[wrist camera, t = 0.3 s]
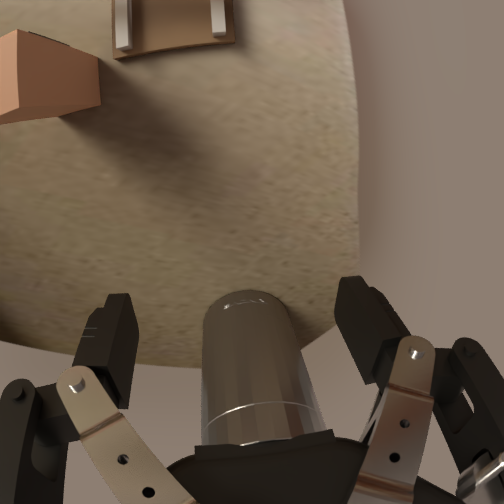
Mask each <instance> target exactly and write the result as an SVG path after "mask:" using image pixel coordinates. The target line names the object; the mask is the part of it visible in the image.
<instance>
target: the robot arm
mask: <svg viewBox="0 0 504 504" xmlns="http://www.w3.org/2000/svg"><path fill="white" fill-rule="evenodd" d="M334 315H335V321H336V324H337V326H338V328H339V330H340V332H341V334H342V336H343V338H344V340H345V342H346V344H347V346H348V349H349V351H350V353H351V355H352V357H353V359H354V361H355V363H356V366H357V368H358V370H359V372H360V374H361V376H362V378H363V380H364V382H365V385H367V384H371V383H376V384H377V386H378V388H379V391H378V393H377V395H376V399H375V401H374V404H373V407H372V410H371V413H370V415H369V418H368V421H367V423H366V426H365V429H364V431H363V433H362V435H361V437H360V439H359V442H358V441H355V440H352V439H347V438H340V437H335V436H334V433H333V430H332V429H329V430H327V429H326V425H325V422H324V420H323V417H322V414H321V411H320V408H319V405H318V402H317V399H316V396H315V393H314V390H313V387H312V384H311V381H310V378H309V375H308V372H307V369H306V366H305V363H304V360H303V357H302V354H301V351H300V348H299V345H298V342H297V339H296V335H295V332H294V330H293V327H292V324H291V321H290V318H289V315H288V312H287V310H286V308H285V307H284V305H283V304H282V303H281V302H280V301H279V300H278V299H276V298H275V297H273V296H272V295H269V294H267V293H264V292H260V291H253V290H249V291H239V292H234V293H231V294H228V295H226V296H224V297H222V298H221V299H219V300H218V301H216V302H215V303H214V304H213V305H212V306H211V307H210V309H209V310H208V312H207V313H206V315H205V318H204V322H203V345H202V385H201V386H202V387H201V392H202V393H201V438H202V445H201V446H200V445H199V446H195V454H194V455H190V456H187V457H185V458H182V459H180V460H178V461H176V462H175V463H173V464H171V465H170V466H169V467H167V468H165V467H164V466H163V464H162V463H161V462H160V461H159V460H158V459H157V457H156V456H155V455H154V454H153V453H152V451H151V450H150V449H149V448H148V446H147V445H146V444H145V443H144V441H143V440H142V439H141V438H140V436H139V435H138V434H137V433H136V431H135V430H134V428H133V427H132V426H131V425H130V423H129V422H128V420H127V419H126V418H125V416H123V414H122V413H120V412H119V410H118V409H128V406H129V398H130V391H131V384H132V378H133V371H134V365H135V359H136V353H137V347H138V341H139V329H138V323H137V320H136V316H135V313H134V309H133V305H132V302H131V298H130V295H129V294H128V293H121V294H109V295H108V297H107V300H106V303H105V305H104V308H97V309H96V310H95V311H94V312H93V313H92V314H91V315H90V316H89V318H88V321H87V323H86V326H85V329H84V332H83V334H82V337H81V340H80V343H79V346H78V349H77V352H76V355H75V358H74V361H73V364H72V367H70V368H68V369H67V370H65V371H64V372H62V374H61V375H60V376H59V378H58V380H57V382H56V383H54V384H50V385H46V386H41V387H37V388H35V387H34V385H33V384H32V383H31V382H30V381H29V380H27V379H17V380H14V381H12V382H11V383H9V384H8V385H7V386H6V388H5V389H4V390H3V393H2V396H1V399H0V504H63V493H64V480H65V469H66V460H67V451H68V444H69V442H73V441H78V440H80V441H81V443H82V444H83V446H84V448H85V450H86V451H87V453H88V455H89V456H90V458H91V460H92V461H93V463H94V465H95V466H96V468H97V469H98V471H99V472H100V474H101V475H102V477H103V479H104V480H105V481H106V483H107V484H108V486H109V487H110V489H111V490H112V492H113V493H114V495H115V496H116V497H117V498H118V500H119V501H120V503H121V504H504V379H503V377H502V376H501V374H500V372H499V371H498V369H497V368H496V366H495V365H494V363H493V362H492V360H491V359H490V357H489V356H488V354H487V353H486V352H485V350H484V349H483V347H482V346H481V345H480V344H479V343H478V342H477V341H475V340H473V339H471V338H459V339H458V340H456V341H455V343H454V345H453V347H452V349H449V348H434V347H433V345H432V344H431V343H430V342H429V341H428V340H426V339H425V338H422V337H419V336H412V335H411V334H410V332H409V331H408V329H407V328H406V326H405V325H404V324H403V322H402V320H401V319H400V317H399V316H398V315H397V313H396V312H395V311H394V309H393V308H392V306H391V305H390V304H389V302H388V300H387V299H386V297H385V296H384V295H383V294H382V293H381V292H380V291H378V290H377V289H376V288H374V287H369V286H368V285H367V284H366V282H365V281H364V279H363V278H362V277H361V276H349V277H342V278H341V279H340V282H339V287H338V293H337V298H336V303H335V309H334ZM464 389H465V390H466V392H467V394H468V396H469V398H470V399H471V401H472V403H473V406H474V413H473V411H472V409H471V408H470V406H469V404H468V402H467V400H466V398H465V397H464V395H463V393H462V392H463V390H464ZM432 411H433V413H434V415H435V417H436V420H437V422H438V424H439V426H440V428H441V431H442V433H443V435H444V437H445V440H446V442H447V444H448V447H449V449H450V451H451V453H452V456H453V458H454V461H455V463H456V466H457V468H458V470H459V473H460V477H459V479H458V483H457V489H456V496H457V497H456V496H454V495H453V494H451V493H449V492H447V491H445V490H443V489H441V488H439V487H437V486H436V485H434V484H432V483H430V482H428V481H426V480H424V479H423V478H421V477H419V476H418V475H417V474H418V470H419V467H420V463H421V459H422V456H423V452H424V447H425V443H426V439H427V435H428V430H429V425H430V420H431V415H432Z"/></svg>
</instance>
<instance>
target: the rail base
mask: <svg viewBox="0 0 504 504" xmlns="http://www.w3.org/2000/svg"><path fill="white" fill-rule="evenodd" d="M230 43H235V31H234V17H233V4H232V0H112V45H113V59H115V60H121V59H125V58H130V57H134V56H139V55H145V54H150V53H155V52H161V51H168V50H174V49H181V48H189V47H197V46H206V45H217V44H230Z"/></svg>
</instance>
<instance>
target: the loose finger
mask: <svg viewBox="0 0 504 504" xmlns="http://www.w3.org/2000/svg"><path fill="white" fill-rule="evenodd" d="M99 105H101V98H100V86H99V72H98V57H96V56H93V55H91V54H88V53H85V52H83V51H80V50H78V49H75V48H72V47H70V45H67V44H64V43H61V42H59V41H56V40H53V39H50V38H47V37H44V36H41V35H38V34H35V33H32V32H25V31H22V30H19V29H16V30H14V31H12V32H10V33H8V34H6V35H4V36H2V37H0V125H1V124H7V123H13V122H19V121H26V120H34V119H41V118H50V117H58V116H61V115H65V114H68V113H72V112H76V111H79V110H83V109H87V108H91V107H95V106H99Z"/></svg>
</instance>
